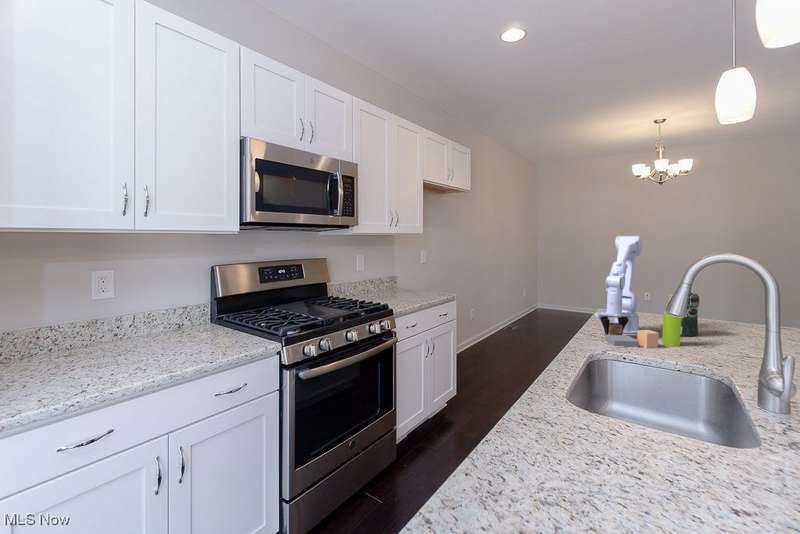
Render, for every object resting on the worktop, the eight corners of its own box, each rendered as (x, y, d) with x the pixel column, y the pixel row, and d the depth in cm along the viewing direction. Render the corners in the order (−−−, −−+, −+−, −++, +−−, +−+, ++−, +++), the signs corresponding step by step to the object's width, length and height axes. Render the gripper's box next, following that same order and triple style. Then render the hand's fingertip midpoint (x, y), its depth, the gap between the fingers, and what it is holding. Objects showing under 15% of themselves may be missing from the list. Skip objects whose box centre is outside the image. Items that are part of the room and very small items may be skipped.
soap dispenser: (681, 343, 156) (683, 295, 155) (678, 347, 151) (681, 297, 150) (663, 340, 160) (666, 293, 159) (660, 344, 155) (663, 295, 154)
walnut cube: (616, 336, 168) (617, 322, 168) (621, 339, 163) (622, 325, 163) (604, 336, 169) (605, 322, 168) (609, 339, 164) (610, 325, 163)
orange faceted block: (648, 344, 156) (648, 329, 156) (657, 347, 151) (658, 332, 151) (636, 344, 155) (637, 330, 155) (646, 348, 150) (647, 333, 150)
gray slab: (627, 342, 160) (627, 335, 160) (638, 348, 151) (638, 341, 151) (604, 341, 161) (605, 334, 161) (614, 348, 152) (614, 340, 152)
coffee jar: (685, 331, 175) (687, 291, 173) (701, 336, 167) (704, 294, 166) (666, 332, 173) (668, 292, 172) (682, 337, 165) (684, 294, 164)
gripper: (600, 304, 162) (599, 336, 163) (637, 304, 160) (635, 336, 161) (594, 301, 169) (593, 331, 170) (629, 301, 167) (627, 332, 168)
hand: (613, 333), depth 166 cm, fingers closed on walnut cube, 5 cm apart
